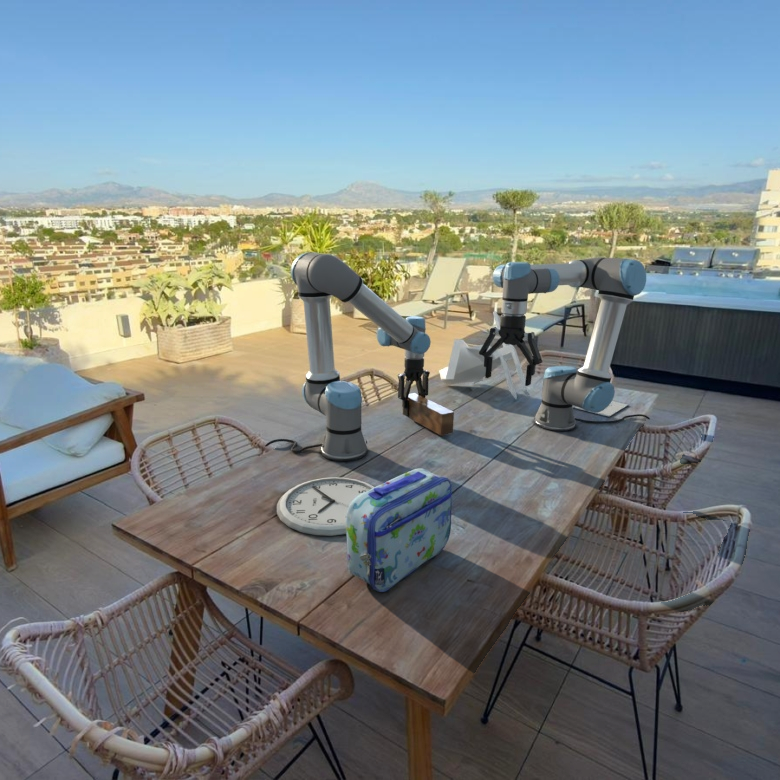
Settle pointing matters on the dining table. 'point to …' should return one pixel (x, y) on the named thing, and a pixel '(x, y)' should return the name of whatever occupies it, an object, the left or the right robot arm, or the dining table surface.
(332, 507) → the wall clock
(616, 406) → the invitation card
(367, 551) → the lunch box
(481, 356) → the white plastic object
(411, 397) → the bar
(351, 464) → the dining table surface
